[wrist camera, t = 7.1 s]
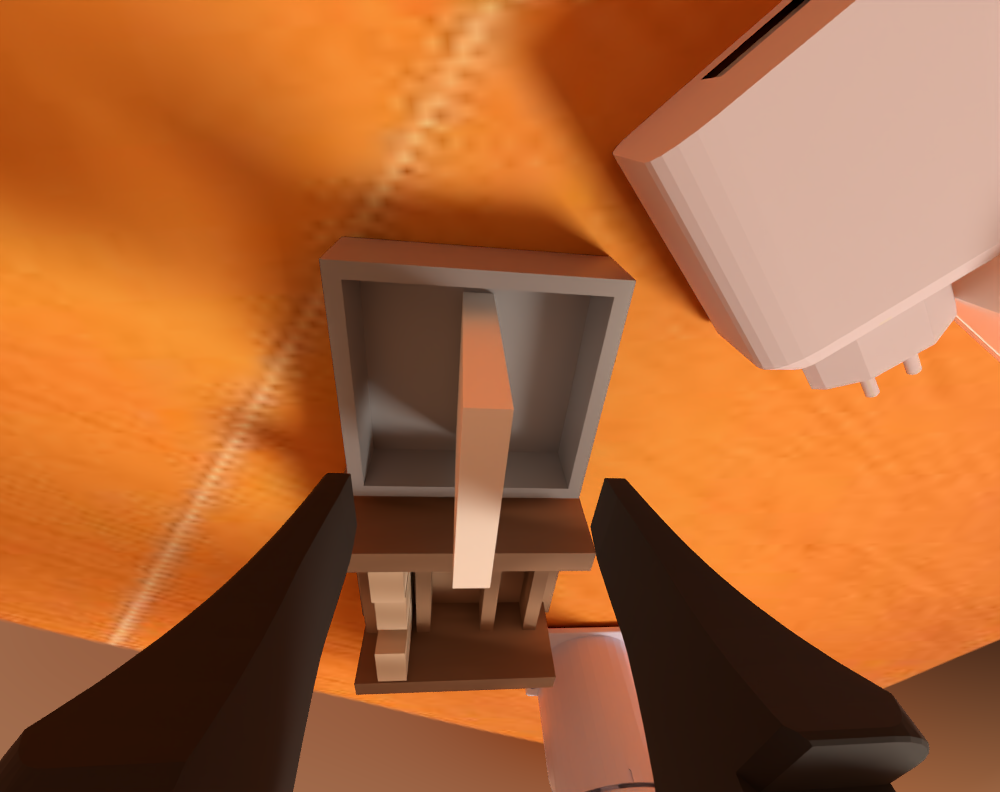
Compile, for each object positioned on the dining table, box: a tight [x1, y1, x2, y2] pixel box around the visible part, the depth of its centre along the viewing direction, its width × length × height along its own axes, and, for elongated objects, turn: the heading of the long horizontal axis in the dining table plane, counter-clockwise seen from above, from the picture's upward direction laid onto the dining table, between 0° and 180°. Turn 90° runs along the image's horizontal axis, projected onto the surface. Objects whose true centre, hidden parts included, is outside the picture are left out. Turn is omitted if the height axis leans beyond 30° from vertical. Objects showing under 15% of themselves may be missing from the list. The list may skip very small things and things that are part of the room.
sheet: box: [453, 292, 514, 588], centre depth 15 cm, size 7×1×8 cm, turn 175°
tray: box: [319, 237, 636, 498], centre depth 18 cm, size 10×10×3 cm
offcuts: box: [368, 572, 414, 681], centre depth 23 cm, size 9×2×4 cm, turn 175°
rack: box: [344, 466, 596, 695], centre depth 23 cm, size 12×12×5 cm
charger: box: [613, 0, 1000, 397], centre depth 15 cm, size 5×9×15 cm
